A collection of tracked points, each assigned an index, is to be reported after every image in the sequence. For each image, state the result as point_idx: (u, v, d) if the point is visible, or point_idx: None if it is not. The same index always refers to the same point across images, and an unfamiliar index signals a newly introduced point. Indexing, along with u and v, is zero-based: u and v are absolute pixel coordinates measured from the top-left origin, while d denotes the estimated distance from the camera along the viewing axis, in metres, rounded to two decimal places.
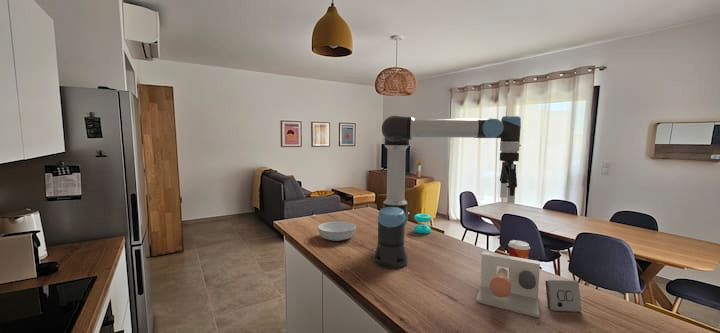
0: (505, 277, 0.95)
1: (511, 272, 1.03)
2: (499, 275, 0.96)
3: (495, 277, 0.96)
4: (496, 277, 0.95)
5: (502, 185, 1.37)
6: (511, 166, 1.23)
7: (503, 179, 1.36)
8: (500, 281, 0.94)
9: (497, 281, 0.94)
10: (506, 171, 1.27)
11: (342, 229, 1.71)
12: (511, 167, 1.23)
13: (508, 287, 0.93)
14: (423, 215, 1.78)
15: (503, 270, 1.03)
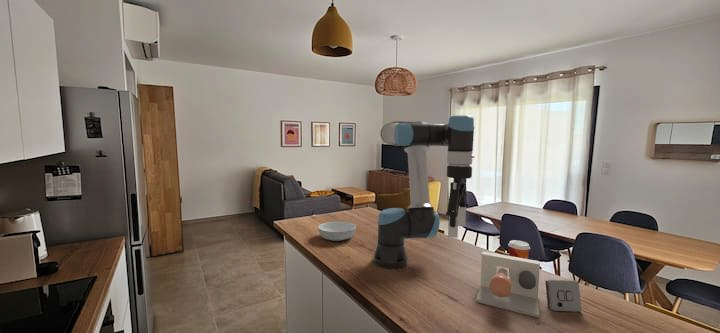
0: (505, 277, 0.95)
1: (511, 272, 1.03)
2: (499, 275, 0.96)
3: (495, 277, 0.96)
4: (496, 277, 0.95)
5: (459, 210, 1.01)
6: (452, 186, 0.89)
7: (459, 201, 1.00)
8: (500, 281, 0.94)
9: (497, 281, 0.94)
10: None
11: (342, 229, 1.71)
12: (452, 187, 0.89)
13: (508, 287, 0.93)
14: None
15: (503, 270, 1.03)
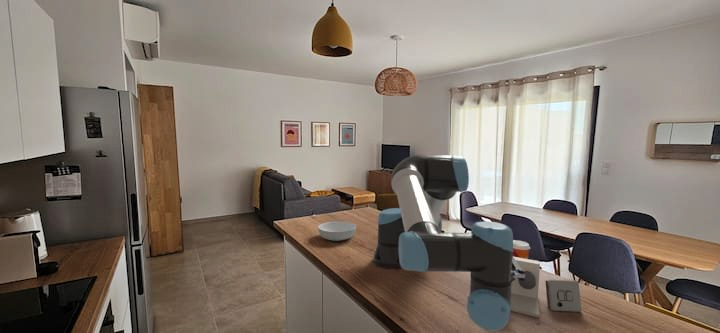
0: None
1: None
2: None
3: None
4: None
5: None
6: None
7: None
8: None
9: None
10: None
11: (342, 229, 1.71)
12: None
13: None
14: None
15: None
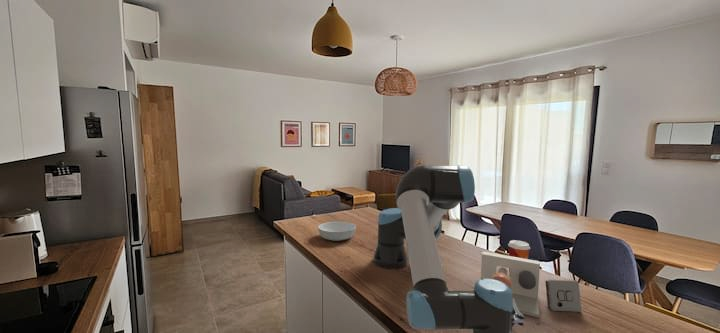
0: (505, 276, 0.96)
1: (511, 272, 1.03)
2: (499, 274, 0.97)
3: (495, 276, 0.96)
4: (496, 276, 0.96)
5: None
6: None
7: None
8: (500, 280, 0.94)
9: None
10: None
11: (342, 229, 1.71)
12: None
13: (508, 286, 0.93)
14: None
15: (503, 269, 1.04)
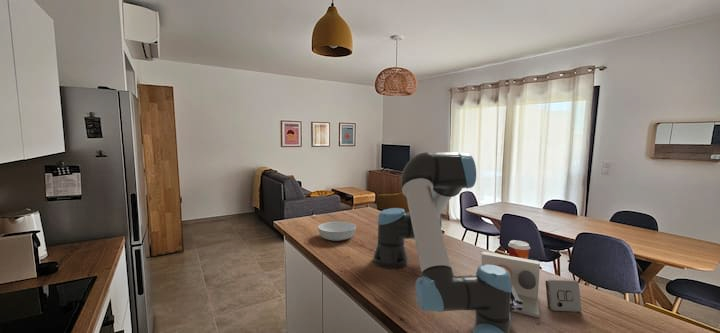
0: (506, 268, 1.03)
1: None
2: (501, 265, 1.04)
3: None
4: None
5: None
6: None
7: None
8: None
9: None
10: None
11: (342, 229, 1.71)
12: None
13: None
14: None
15: None
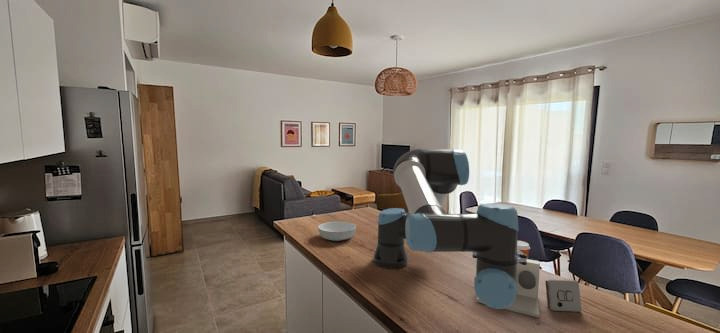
0: None
1: None
2: None
3: None
4: None
5: None
6: None
7: None
8: None
9: None
10: None
11: (342, 229, 1.71)
12: None
13: None
14: None
15: None
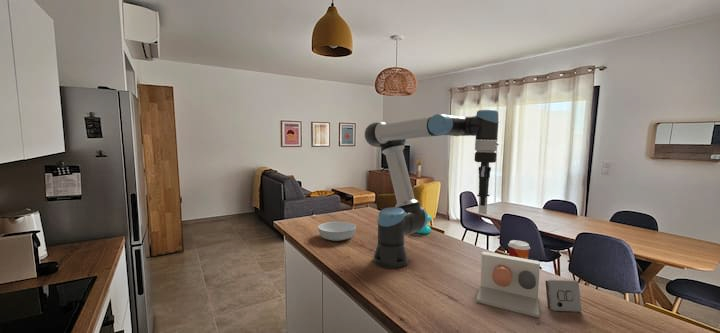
0: (506, 268, 1.02)
1: None
2: (501, 266, 1.03)
3: (497, 268, 1.03)
4: (498, 268, 1.02)
5: None
6: (481, 174, 1.07)
7: None
8: (502, 271, 1.01)
9: (499, 271, 1.01)
10: None
11: (342, 229, 1.71)
12: (481, 175, 1.08)
13: (509, 277, 1.00)
14: None
15: None
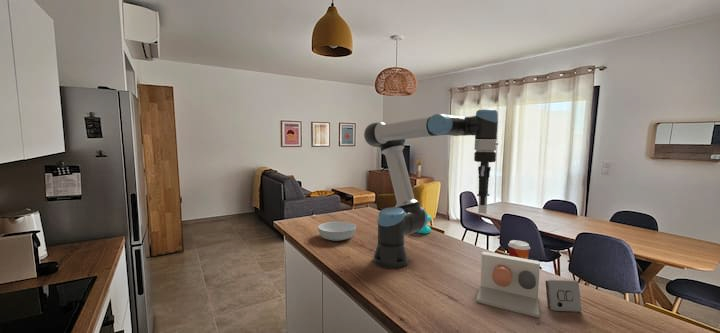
0: (506, 268, 1.02)
1: None
2: (501, 266, 1.03)
3: (497, 268, 1.03)
4: (498, 268, 1.02)
5: None
6: (480, 174, 1.08)
7: None
8: (502, 271, 1.01)
9: (499, 271, 1.01)
10: None
11: (342, 229, 1.71)
12: (480, 175, 1.08)
13: (509, 277, 1.00)
14: None
15: None
